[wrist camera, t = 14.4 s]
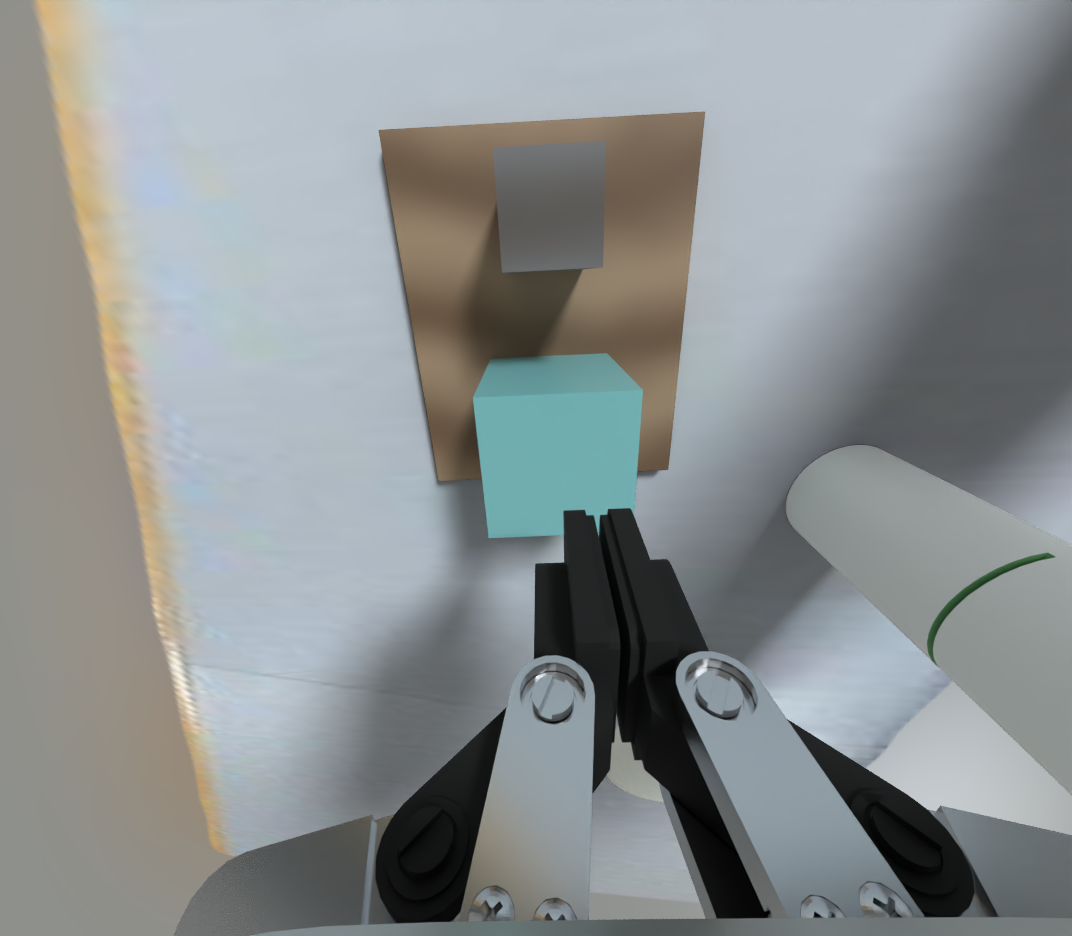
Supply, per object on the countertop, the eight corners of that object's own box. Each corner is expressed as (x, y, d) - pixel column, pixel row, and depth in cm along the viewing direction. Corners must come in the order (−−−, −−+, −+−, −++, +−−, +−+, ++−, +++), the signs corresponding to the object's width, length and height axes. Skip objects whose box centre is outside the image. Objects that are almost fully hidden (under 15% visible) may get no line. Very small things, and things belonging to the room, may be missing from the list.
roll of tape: (579, 763, 40) (582, 797, 37) (621, 655, 34) (629, 687, 31) (726, 777, 41) (739, 810, 39) (794, 676, 35) (815, 708, 32)
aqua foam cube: (491, 358, 22) (472, 397, 15) (607, 353, 22) (643, 389, 15) (500, 463, 24) (488, 538, 17) (603, 459, 24) (632, 531, 17)
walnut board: (386, 137, 18) (310, 64, 12) (696, 119, 18) (785, 37, 12) (441, 473, 26) (413, 538, 19) (663, 462, 26) (707, 524, 19)
